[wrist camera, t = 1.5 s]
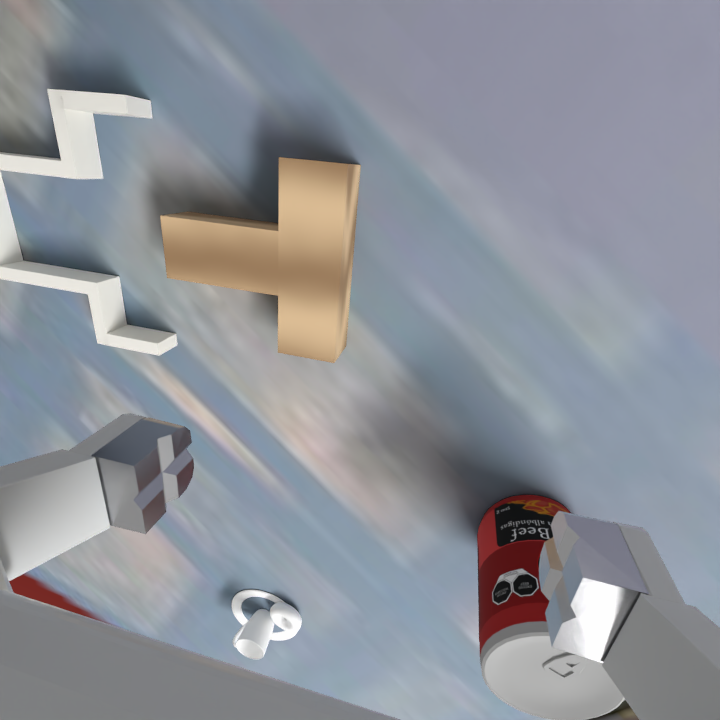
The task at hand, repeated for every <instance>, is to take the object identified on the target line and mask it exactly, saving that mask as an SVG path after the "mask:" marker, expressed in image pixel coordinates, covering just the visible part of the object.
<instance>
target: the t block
mask: <svg viewBox="0 0 720 720" xmlns="http://www.w3.org/2000/svg"><path fill="white" fill-rule="evenodd" d="M360 166H361V165H355V164H345V163H335V162H325V161H315V160H305V159H294V158H282V157H279V220H278V223H272V222H264V221H257V220H249V219H241V218H233V217H226V216H218V215H210V214H202V213H195V212H182V213H175V214H168V215H161V216H160V219H161V228H162V236H163V245H164V254H165V263H166V272H167V278H171V279H177V280H184V281H190V282H196V283H202V284H208V285H215V286H221V287H227V288H233V289H239V290H246V291H252V292H258V293H264V294H270V295H277V296H278V353H284V354H289V355H294V356H300V357H305V358H310V359H316V360H321V361H326V362H332V363H335V361H336V360H337V358H338V357H339V355H340V354H341V353H342V351H343V350H344V348H345V347H346V339H347V327H348V315H349V302H350V290H351V277H352V265H353V253H354V240H355V228H356V215H357V203H358V191H359V178H360Z"/></svg>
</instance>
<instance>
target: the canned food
mask: <svg viewBox="0 0 720 720" xmlns="http://www.w3.org/2000/svg"><path fill="white" fill-rule="evenodd" d="M558 511H562V512H567V513H571V512H570V511H569V510H568V509H567V508H566V507H564V506H563V505H562V504H560V503H558V502H556V501H554V500H552V499H549V498H546V497H543V496H537V495H518V496H512V497H509V498H506V499H503V500H501V501H499V502H497V503H495V504H494V505H493V506H492V507H490V508H489V509H488V511H487V512H486V513H485V514H484V516H483V519H482V521H481V523H480V526H479V529H478V534H477V538H478V597H479V642H480V662H481V668H482V676H483V678H484V681H485V683H486V685H487V686H488V687H489V689H490V690H491V691H492V692H493V693H494V694H495V695H496V696H497V697H498V698H499V699H501V700H502V701H503V702H505V703H506V704H508V705H510V706H512V707H514V708H516V709H517V710H519V711H522V712H525V713H528V714H530V715H534V716H538V717H542V718H546V719H553V720H585V719H590V718H594V717H598V716H601V715H604V714H606V713H609V712H610V711H612V710H613V709H615V708H617V707H618V706H619V705H620V704H621V703H622V702H623V701H624V700H625V698H624V697H623V695H622V694H621V692H620V691H619V689H618V688H617V687H616V685H615V684H614V682H613V681H612V679H611V678H610V677H609V675H608V674H607V672H606V671H605V669H604V668H603V666H602V664H603V663H601V662H598V661H595V660H591V659H588V658H585V657H582V656H578V655H575V654H572V653H569V652H565V651H562V650H559V649H556V648H552V646H551V641H550V635H549V630H548V625H547V620H546V615H545V612H546V609H547V607H548V604H549V602H550V601H549V600H548V599H547V598H546V596H545V595H544V594H543V593H542V592H541V587H540V581H539V562H540V554H541V551H542V548H543V545H544V542H545V541H547V540H549V539H550V538H552V537H553V533H552V529H551V524H552V521H553V518H554V516H555V515H556V513H557V512H558ZM571 514H572V513H571Z"/></svg>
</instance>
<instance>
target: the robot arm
mask: <svg viewBox="0 0 720 720" xmlns="http://www.w3.org/2000/svg"><path fill="white" fill-rule="evenodd" d="M191 443H192V442H191V435H190V430H189V429H187V428H186V427H184V426H180V425H176V424H172V423H168V422H164V421H160V420H156V419H152V418H146V417H143V416H139V415H135V414H131V413H130V414H122V415H121V416H120V417H118V418H117V419H115V420H114V421H112V422H111V423H109V424H108V425H106V426H105V427H103V428H102V429H100V430H99V431H97V432H96V433H94V434H93V435H91V436H90V437H88V438H87V439H85V440H84V441H82V442H81V443H79V444H78V445H76V446H75V447H73V448H72V449H70V450H69V451H67V450H63V449H62V450H58V451H55V452H51V453H48V454H44V455H40V456H37V457H33V458H30V459H26V460H23V461H19V462H15V463H12V464H8V465H5V466H1V467H0V720H400V719H397V718H394V717H391V716H388V715H385V714H382V713H379V712H376V711H372V710H369V709H366V708H363V707H360V706H357V705H354V704H351V703H348V702H345V701H342V700H339V699H336V698H333V697H330V696H327V695H324V694H320V693H317V692H314V691H311V690H308V689H305V688H302V687H299V686H296V685H293V684H290V683H287V682H284V681H281V680H278V679H275V678H272V677H268V676H265V675H262V674H259V673H256V672H253V671H250V670H247V669H244V668H241V667H238V666H235V665H232V664H229V663H226V662H223V661H220V660H217V659H213V658H210V657H207V656H204V655H201V654H198V653H195V652H192V651H189V650H186V649H183V648H180V647H177V646H174V645H171V644H168V643H165V642H162V641H158V640H155V639H152V638H149V637H146V636H143V635H140V634H137V633H134V632H131V631H128V630H125V629H122V628H119V627H116V626H113V625H110V624H107V623H104V622H100V621H97V620H94V619H91V618H88V617H85V616H82V615H79V614H76V613H73V612H70V611H67V610H64V609H61V608H58V607H55V606H52V605H48V604H46V603H42V602H39V601H36V600H33V599H30V598H27V597H24V596H21V595H18V594H15V593H13V590H12V588H11V585H10V583H9V581H10V580H12V579H14V578H16V577H18V576H20V575H22V574H24V573H25V572H27V571H29V570H31V569H33V568H35V567H37V566H39V565H40V564H42V563H44V562H46V561H48V560H50V559H52V558H54V557H56V556H57V555H59V554H61V553H63V552H65V551H67V550H69V549H71V548H73V547H74V546H76V545H78V544H80V543H82V542H84V541H86V540H88V539H90V538H91V537H93V536H95V535H97V534H99V533H101V532H103V531H105V530H107V529H108V528H110V525H111V526H115V527H119V528H123V529H127V530H132V531H136V532H140V533H144V534H146V533H147V532H148V531H149V530H150V529H151V528H152V527H153V525H154V524H155V523H156V522H157V521H158V520H159V519H160V518H161V517H162V516H163V515H164V513H165V512H166V503H168V502H170V501H172V500H175V499H177V498H179V497H180V496H181V495H182V493H183V492H184V491H185V490H186V489H187V487H188V485H189V483H190V480H191V478H192V475H193V469H194V463H193V457H192V456H191V455H190V453H189V452H188V450H187V448H188V446H189V445H190V444H191ZM551 529H552V533H553V537H552V538H550V539H549V540H547V541H545V542H544V545H543V548H542V551H541V554H540V562H539V581H540V587H541V592H542V593H543V594H544V595H545V596H546V598H547V599H548V600H549V601H550V602H549V604H548V607H547V609H546V612H545V615H546V620H547V625H548V630H549V635H550V641H551V646H552V648H556V649H559V650H562V651H565V652H569V653H572V654H575V655H578V656H582V657H585V658H588V659H591V660H595V661H598V662H601V663H603V664H602V666H603V668H604V669H605V671H606V672H607V674H608V675H609V677H610V678H611V679H612V681H613V682H614V684H615V685H616V687H617V688H618V689H619V691H620V692H621V694H622V695H623V697H624V698H625V699H626V701H627V702H628V704H629V705H630V707H631V708H632V710H633V711H634V712H635V714H636V715H637V717H638V718H639V720H720V628H719V627H718V626H717V625H715V624H714V623H713V622H712V621H711V620H710V619H709V618H707V617H706V616H705V615H704V614H703V613H702V612H701V611H699V610H698V609H697V608H696V607H693V606H690V605H686V604H685V602H684V600H683V599H682V597H681V595H680V593H679V591H678V589H677V587H676V585H675V583H674V581H673V580H672V578H671V576H670V574H669V572H668V570H667V568H666V566H665V564H664V562H663V561H662V559H661V557H660V555H659V553H658V551H657V549H656V547H655V545H654V543H653V542H652V540H651V538H650V536H649V534H648V532H647V531H645V530H644V529H643V528H641V527H636V526H631V525H626V524H621V523H616V522H613V523H612V522H608V521H603V520H599V519H594V518H590V517H585V516H581V515H576V514H571V513H567V512H562V511H558V512H557V513H556V515H555V516H554V518H553V521H552V524H551Z"/></svg>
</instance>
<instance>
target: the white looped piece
mask: <svg viewBox="0 0 720 720" xmlns="http://www.w3.org/2000/svg"><path fill="white" fill-rule="evenodd" d="M249 597H263V598H266V599H269V600H271V601H273V602H275V604H274V605H273V606H272V607H271V608H270V612H269V611H268V610H265V609H259V610H257V611H256V612H255V613H254V614H253V615H252V617H251V618H250V619H249V621H248V620H247V619H246V618H245V616H244V615H243V613H242V610H241V605H242V602H243V601H244V600H245V599H247V598H249ZM232 610H233V613H234V615H235V617H236V618H237V620H238V621H239V622H240V623H241V624H242V625H243V626H242V627H241V628H240V630H239V631H238V632H237V633H236V635H235V636H234V638H233V645H234V646H235V647H236V648H237V649H238V650H239V652H240V653H241V654H243V655H244V656H246V657H248V658H251V659H261V658H262V657H263V656H264V654H265V651H266V648H267V646H268V643H269V640H287V639H290V638H292V637H293V636H295V635H296V633H297V632H298V630H299V629H300V627H301V624H302V619H301V616H300V614H299V612H298V611H297V610H296V609H295V608H293V607H292V606H290V605H288V604H286V603H285V602H284V601H283V600H281V599H280V598H278V597H276V596H274V595H272V594H270V593H267V592H264V591H260V590H244V591H241V592H239V593H237V594H236V595H235V596H234V598H233V600H232ZM274 623H275V624H276V625H277V626H279V627H280V628H282V629H284V630H285V631H283V632H279V633H272V631H273V627H274ZM237 639H238V640H237ZM236 641H237V642H236Z"/></svg>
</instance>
